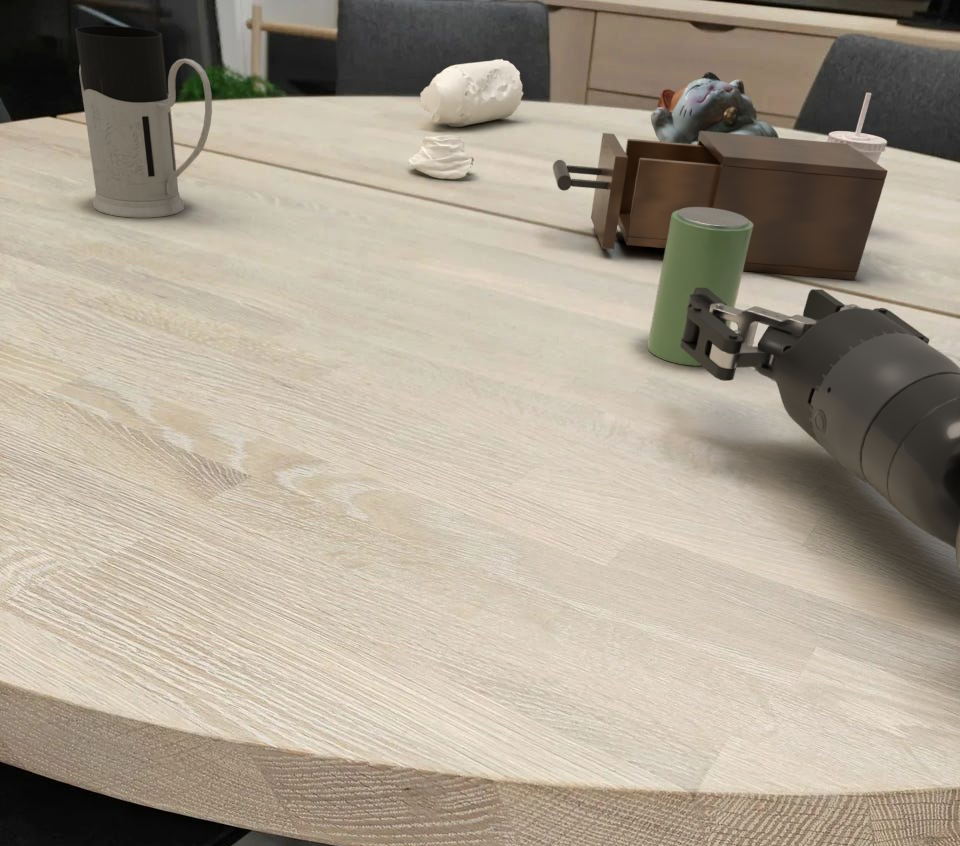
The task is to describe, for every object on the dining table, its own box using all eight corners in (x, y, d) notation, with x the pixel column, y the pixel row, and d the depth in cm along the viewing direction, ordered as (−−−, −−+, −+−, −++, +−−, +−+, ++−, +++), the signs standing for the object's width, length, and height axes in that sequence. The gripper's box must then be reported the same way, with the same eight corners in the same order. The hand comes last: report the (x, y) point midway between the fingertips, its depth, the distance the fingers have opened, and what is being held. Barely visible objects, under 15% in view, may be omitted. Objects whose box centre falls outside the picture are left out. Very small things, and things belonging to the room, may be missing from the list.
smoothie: (796, 227, 114) (832, 90, 106) (815, 217, 119) (850, 85, 110) (850, 239, 112) (891, 100, 103) (867, 229, 116) (908, 95, 108)
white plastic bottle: (406, 126, 144) (407, 64, 139) (477, 113, 157) (481, 55, 152) (451, 136, 141) (454, 72, 136) (520, 122, 154) (525, 63, 149)
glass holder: (135, 190, 104) (115, 22, 95) (246, 216, 100) (236, 43, 91) (73, 205, 98) (45, 27, 89) (189, 234, 93) (173, 50, 84)
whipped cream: (407, 185, 119) (406, 141, 116) (409, 167, 124) (407, 124, 121) (474, 185, 120) (474, 141, 116) (473, 167, 125) (473, 125, 121)
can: (714, 340, 81) (744, 209, 75) (729, 368, 77) (763, 230, 70) (642, 335, 81) (666, 202, 75) (653, 362, 76) (679, 223, 70)
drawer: (552, 244, 97) (563, 151, 92) (545, 214, 106) (555, 128, 101) (746, 260, 98) (768, 169, 93) (723, 229, 107) (741, 145, 102)
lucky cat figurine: (693, 194, 123) (665, 73, 119) (656, 210, 135) (628, 101, 130) (800, 157, 125) (776, 38, 121) (754, 176, 137) (730, 68, 132)
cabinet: (700, 267, 98) (724, 156, 92) (679, 232, 108) (699, 130, 102) (855, 280, 99) (888, 170, 93) (819, 244, 109) (847, 143, 103)
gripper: (1014, 335, 55) (863, 248, 67) (779, 334, 52) (667, 243, 64) (963, 458, 59) (830, 355, 72) (744, 465, 56) (646, 356, 69)
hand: (753, 302), depth 68 cm, fingers open, 8 cm apart
